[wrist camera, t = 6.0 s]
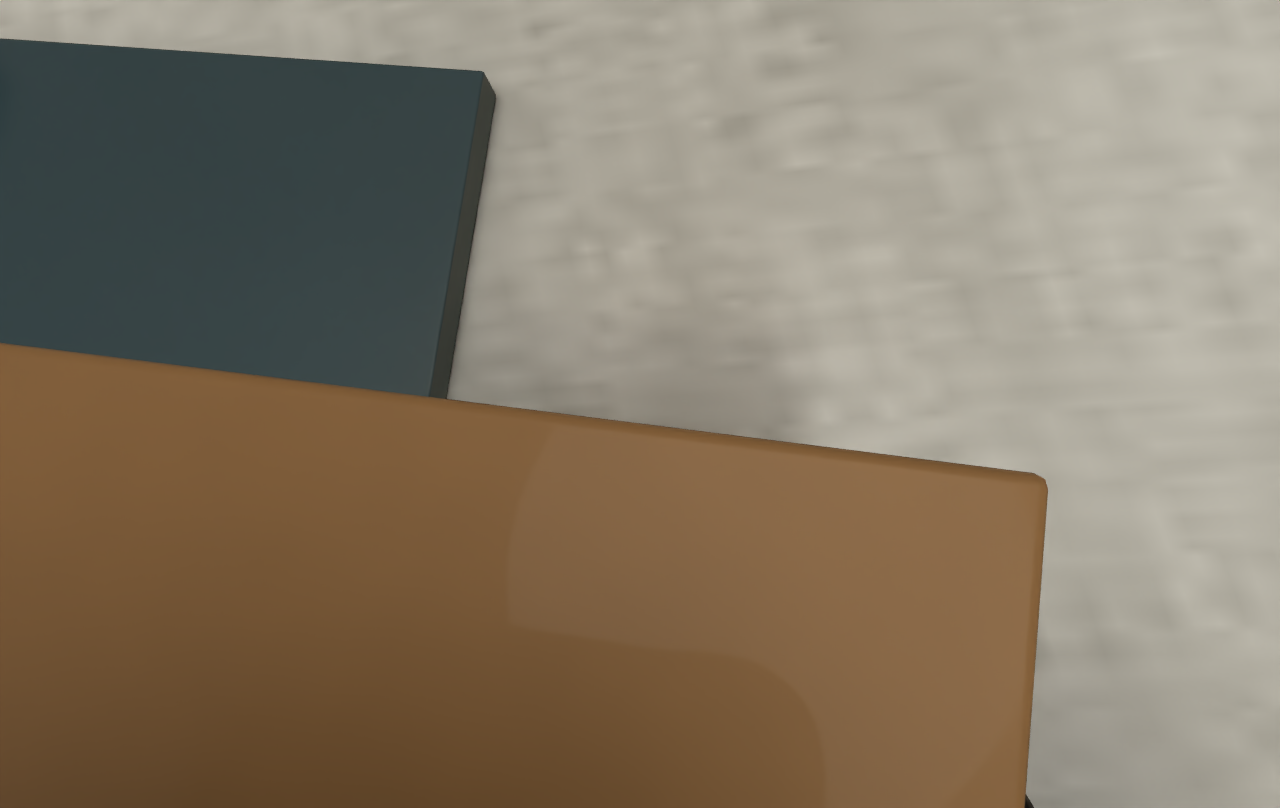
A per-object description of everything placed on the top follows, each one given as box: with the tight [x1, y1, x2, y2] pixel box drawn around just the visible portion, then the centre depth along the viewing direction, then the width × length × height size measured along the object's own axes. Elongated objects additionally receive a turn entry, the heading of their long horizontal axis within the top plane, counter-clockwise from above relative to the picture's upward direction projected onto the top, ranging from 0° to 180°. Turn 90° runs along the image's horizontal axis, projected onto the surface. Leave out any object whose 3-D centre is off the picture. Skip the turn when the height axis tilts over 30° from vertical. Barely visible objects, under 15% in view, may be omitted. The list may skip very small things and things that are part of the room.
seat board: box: [0, 39, 496, 399], centre depth 17 cm, size 20×14×3 cm
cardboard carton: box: [0, 343, 1048, 808], centre depth 10 cm, size 5×6×13 cm
